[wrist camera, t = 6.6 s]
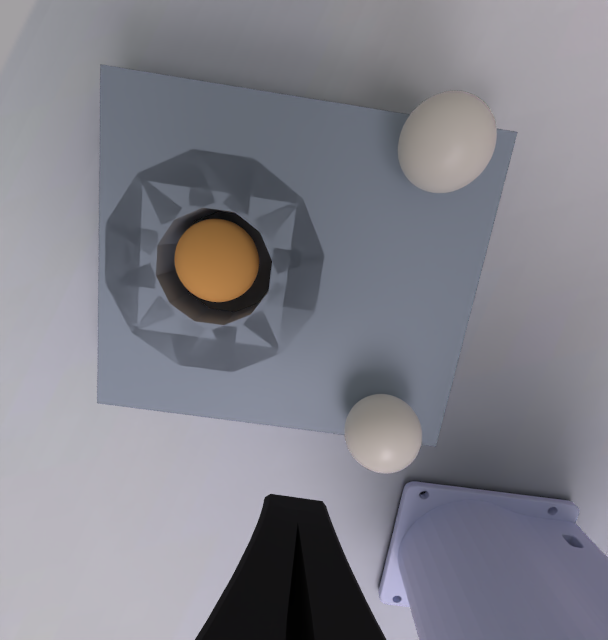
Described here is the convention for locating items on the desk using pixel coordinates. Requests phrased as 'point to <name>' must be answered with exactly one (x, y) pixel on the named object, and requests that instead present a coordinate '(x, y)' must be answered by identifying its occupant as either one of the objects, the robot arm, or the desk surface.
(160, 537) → the desk surface
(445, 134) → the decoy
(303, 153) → the grey socket plate
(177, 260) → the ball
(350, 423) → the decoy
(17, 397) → the desk surface
